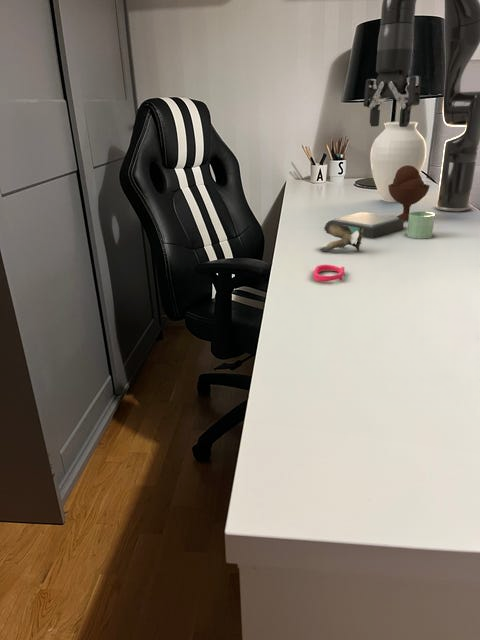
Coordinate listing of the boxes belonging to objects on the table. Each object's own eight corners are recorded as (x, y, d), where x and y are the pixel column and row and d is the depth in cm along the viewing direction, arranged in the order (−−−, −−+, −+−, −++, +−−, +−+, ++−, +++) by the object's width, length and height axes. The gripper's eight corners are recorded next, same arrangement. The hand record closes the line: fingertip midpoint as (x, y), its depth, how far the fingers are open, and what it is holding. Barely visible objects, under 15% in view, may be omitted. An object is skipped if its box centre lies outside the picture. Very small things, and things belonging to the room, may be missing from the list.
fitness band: (342, 284, 94) (342, 276, 93) (311, 282, 95) (311, 274, 95) (345, 271, 101) (345, 263, 101) (316, 269, 103) (316, 262, 102)
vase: (394, 207, 161) (402, 123, 151) (356, 199, 175) (361, 122, 165) (432, 200, 169) (442, 121, 159) (392, 194, 183) (399, 120, 173)
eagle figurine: (360, 240, 119) (322, 232, 120) (367, 219, 113) (327, 211, 114) (355, 264, 115) (317, 256, 116) (362, 244, 109) (321, 235, 110)
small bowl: (414, 231, 130) (417, 210, 128) (436, 235, 126) (439, 213, 124) (402, 236, 126) (404, 214, 124) (424, 239, 122) (426, 217, 120)
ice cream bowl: (428, 223, 138) (435, 167, 132) (386, 222, 140) (391, 167, 134) (423, 215, 148) (429, 162, 142) (384, 215, 150) (388, 162, 144)
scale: (359, 221, 143) (360, 210, 142) (403, 228, 133) (404, 217, 132) (327, 230, 134) (328, 218, 133) (372, 238, 125) (372, 226, 123)
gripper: (433, 45, 108) (424, 126, 114) (381, 52, 118) (375, 125, 125) (410, 44, 104) (402, 128, 110) (359, 51, 115) (354, 126, 121)
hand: (388, 126), depth 117 cm, fingers open, 8 cm apart
